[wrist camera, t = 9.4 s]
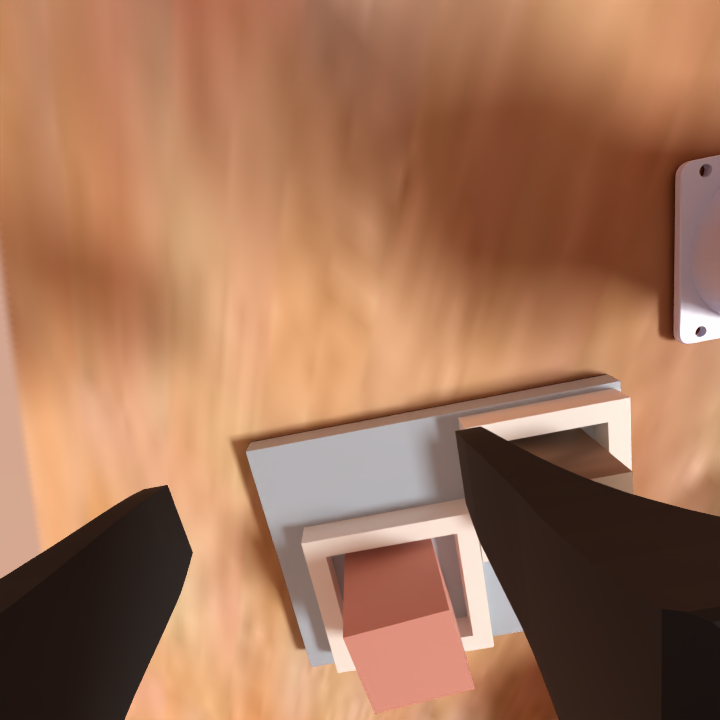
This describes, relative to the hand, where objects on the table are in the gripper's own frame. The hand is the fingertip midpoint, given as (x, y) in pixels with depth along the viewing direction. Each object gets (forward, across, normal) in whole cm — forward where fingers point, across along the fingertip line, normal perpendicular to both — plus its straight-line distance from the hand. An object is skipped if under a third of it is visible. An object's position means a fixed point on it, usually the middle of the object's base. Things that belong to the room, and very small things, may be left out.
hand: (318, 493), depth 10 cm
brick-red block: (+9, -1, +12) cm, 15 cm away
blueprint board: (+10, -4, +10) cm, 15 cm away
